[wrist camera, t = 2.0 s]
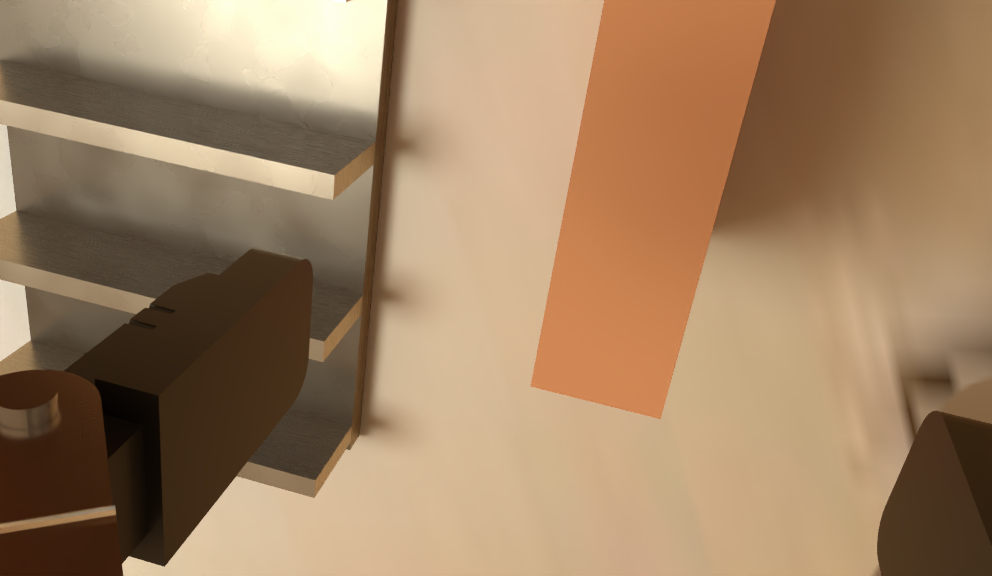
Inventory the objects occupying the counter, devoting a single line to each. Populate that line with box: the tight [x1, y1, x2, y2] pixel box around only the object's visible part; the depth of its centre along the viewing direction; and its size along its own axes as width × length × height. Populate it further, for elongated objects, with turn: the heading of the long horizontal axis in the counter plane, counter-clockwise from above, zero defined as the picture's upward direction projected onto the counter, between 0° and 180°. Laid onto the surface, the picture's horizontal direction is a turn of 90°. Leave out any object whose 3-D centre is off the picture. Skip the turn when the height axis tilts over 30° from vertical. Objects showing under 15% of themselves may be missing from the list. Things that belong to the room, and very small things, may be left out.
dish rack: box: [0, 0, 398, 498], centre depth 31 cm, size 19×14×4 cm
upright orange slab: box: [531, 0, 776, 419], centre depth 23 cm, size 10×3×11 cm, turn 172°
